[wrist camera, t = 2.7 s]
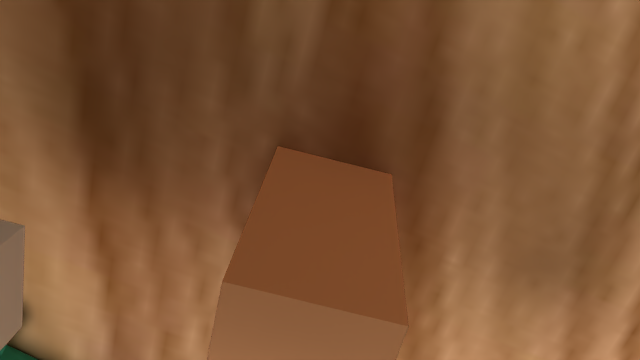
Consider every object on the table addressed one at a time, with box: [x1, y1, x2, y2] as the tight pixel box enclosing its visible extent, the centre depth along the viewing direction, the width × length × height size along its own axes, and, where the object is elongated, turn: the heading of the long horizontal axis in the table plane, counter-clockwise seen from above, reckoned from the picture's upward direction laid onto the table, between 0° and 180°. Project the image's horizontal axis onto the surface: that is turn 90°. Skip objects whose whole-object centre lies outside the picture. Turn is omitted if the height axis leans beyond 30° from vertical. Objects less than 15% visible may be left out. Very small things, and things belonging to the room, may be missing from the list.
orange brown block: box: [207, 146, 409, 360], centre depth 14 cm, size 4×4×7 cm
